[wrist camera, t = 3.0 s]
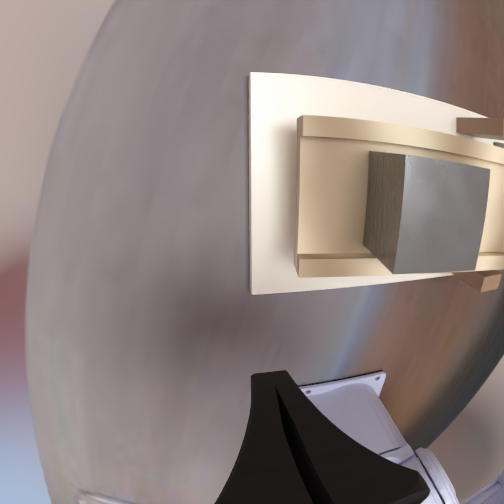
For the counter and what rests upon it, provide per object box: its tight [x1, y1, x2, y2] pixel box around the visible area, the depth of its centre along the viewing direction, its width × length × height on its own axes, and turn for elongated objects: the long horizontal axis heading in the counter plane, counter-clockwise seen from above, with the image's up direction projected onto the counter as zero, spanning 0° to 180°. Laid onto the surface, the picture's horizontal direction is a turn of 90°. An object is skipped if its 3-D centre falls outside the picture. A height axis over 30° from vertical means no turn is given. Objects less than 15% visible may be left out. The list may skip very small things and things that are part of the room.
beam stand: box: [249, 72, 504, 295], centre depth 18 cm, size 34×14×6 cm, turn 90°
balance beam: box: [293, 115, 504, 278], centre depth 16 cm, size 30×9×3 cm, turn 90°
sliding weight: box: [363, 151, 490, 274], centre depth 13 cm, size 5×5×4 cm
